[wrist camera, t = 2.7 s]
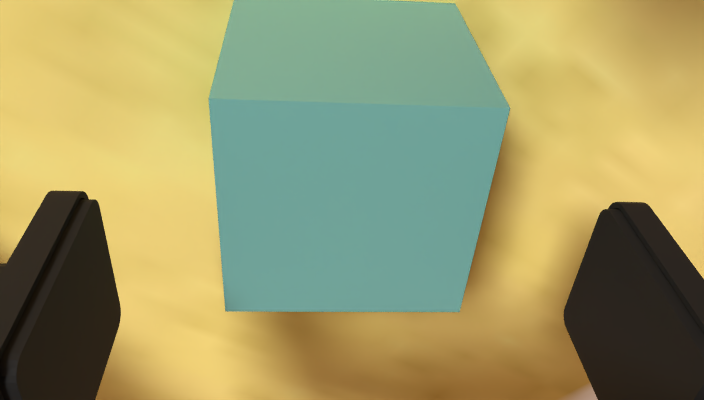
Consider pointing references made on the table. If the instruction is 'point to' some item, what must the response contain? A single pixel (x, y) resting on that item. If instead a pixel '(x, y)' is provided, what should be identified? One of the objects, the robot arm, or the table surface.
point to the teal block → (351, 155)
